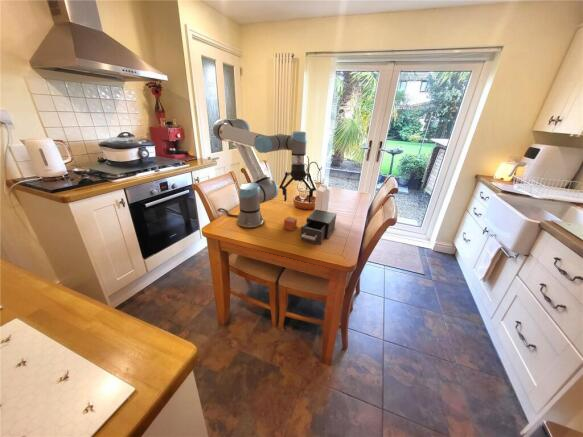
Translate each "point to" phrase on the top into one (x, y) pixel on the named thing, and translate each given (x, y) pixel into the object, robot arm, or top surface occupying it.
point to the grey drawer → (313, 232)
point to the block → (290, 223)
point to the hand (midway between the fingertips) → (297, 201)
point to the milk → (322, 198)
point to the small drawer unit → (324, 220)
